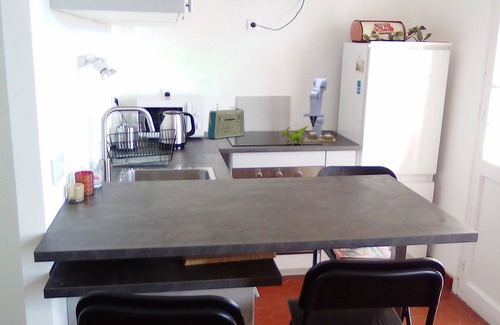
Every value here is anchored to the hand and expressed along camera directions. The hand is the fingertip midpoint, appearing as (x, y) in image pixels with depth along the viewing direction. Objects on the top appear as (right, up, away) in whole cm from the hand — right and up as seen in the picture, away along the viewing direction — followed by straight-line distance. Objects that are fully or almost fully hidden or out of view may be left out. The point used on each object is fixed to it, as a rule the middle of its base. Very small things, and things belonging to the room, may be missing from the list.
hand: (313, 126), depth 350 cm
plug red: (0, -7, +1) cm, 7 cm away
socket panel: (+5, -10, +1) cm, 11 cm away
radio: (-63, -8, +7) cm, 64 cm away
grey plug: (+11, -9, 0) cm, 14 cm away
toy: (-15, -14, -16) cm, 26 cm away
